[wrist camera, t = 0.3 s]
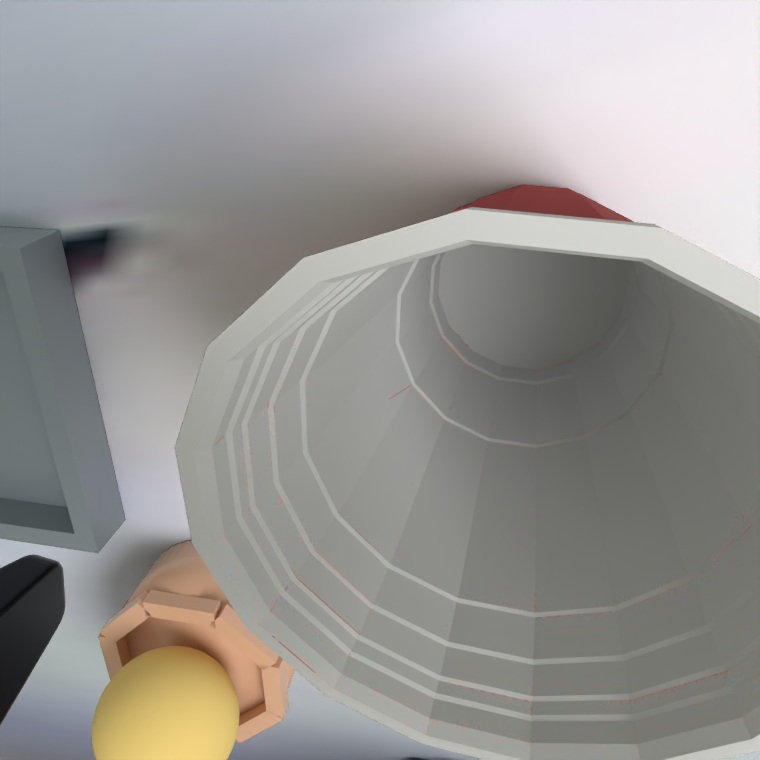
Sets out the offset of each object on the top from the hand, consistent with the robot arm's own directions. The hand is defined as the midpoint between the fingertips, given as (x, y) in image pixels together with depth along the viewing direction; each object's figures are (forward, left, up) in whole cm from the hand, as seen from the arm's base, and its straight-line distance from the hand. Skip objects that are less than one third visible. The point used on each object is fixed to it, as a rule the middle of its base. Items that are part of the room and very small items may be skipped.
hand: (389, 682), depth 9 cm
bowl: (-15, +10, -14) cm, 23 cm away
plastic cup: (0, -1, -14) cm, 14 cm away
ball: (-15, +10, -11) cm, 21 cm away
